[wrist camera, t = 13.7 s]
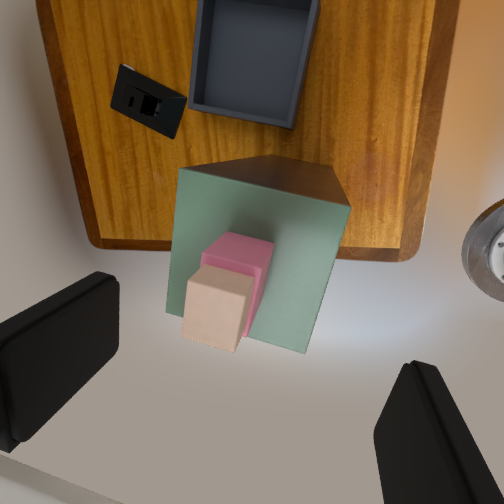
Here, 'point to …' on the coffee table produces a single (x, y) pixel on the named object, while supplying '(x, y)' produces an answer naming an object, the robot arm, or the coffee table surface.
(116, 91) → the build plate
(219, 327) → the pink block
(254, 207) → the stand
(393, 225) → the coffee table surface
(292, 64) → the basin
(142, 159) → the coffee table surface
